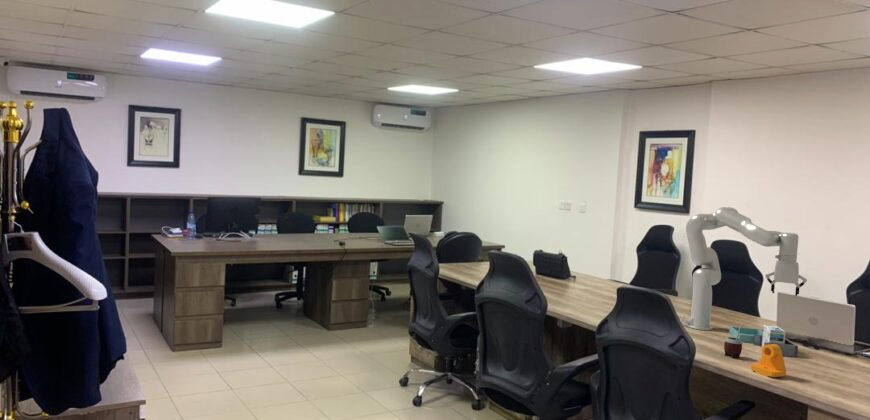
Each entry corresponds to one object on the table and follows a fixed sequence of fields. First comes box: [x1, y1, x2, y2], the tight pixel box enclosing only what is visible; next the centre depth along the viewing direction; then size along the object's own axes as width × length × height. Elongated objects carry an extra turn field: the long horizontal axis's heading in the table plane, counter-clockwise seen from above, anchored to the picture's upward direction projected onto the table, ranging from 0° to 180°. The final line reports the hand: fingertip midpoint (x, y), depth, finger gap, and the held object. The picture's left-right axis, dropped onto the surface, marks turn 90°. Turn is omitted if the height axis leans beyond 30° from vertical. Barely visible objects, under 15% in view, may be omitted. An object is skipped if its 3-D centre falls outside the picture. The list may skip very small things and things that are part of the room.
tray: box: [728, 325, 763, 344], centre depth 311 cm, size 14×18×4 cm
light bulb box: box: [761, 324, 787, 348], centre depth 290 cm, size 11×7×11 cm, turn 168°
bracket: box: [750, 344, 787, 378], centre depth 251 cm, size 11×7×12 cm, turn 25°
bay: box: [752, 334, 799, 358], centre depth 290 cm, size 14×16×5 cm
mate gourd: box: [723, 322, 745, 359], centre depth 275 cm, size 8×8×15 cm
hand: (784, 294), depth 298 cm, fingers open, 9 cm apart
